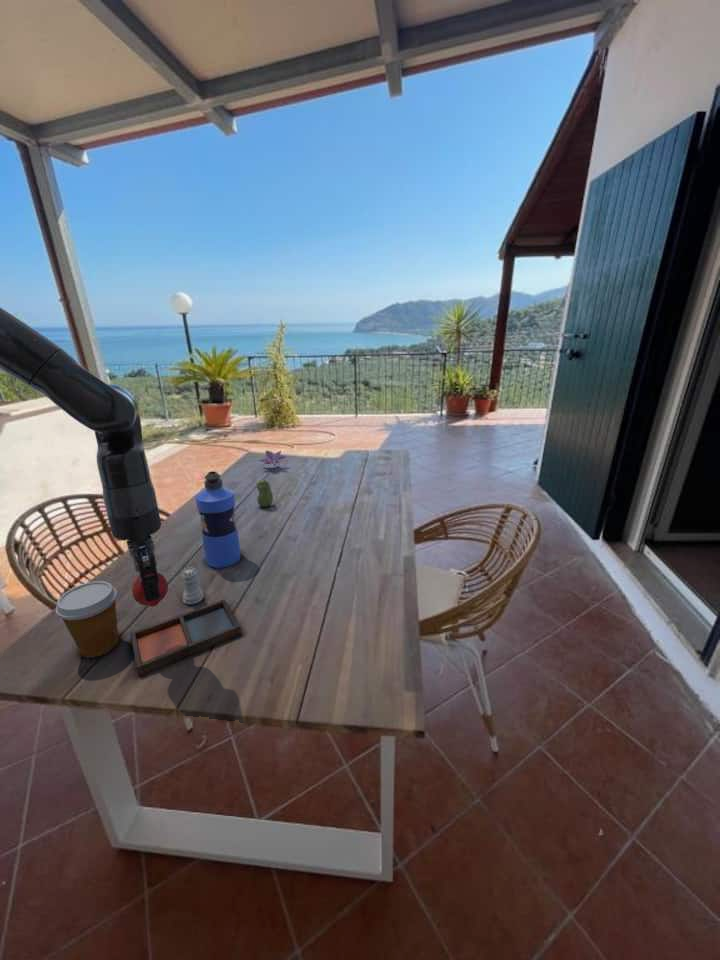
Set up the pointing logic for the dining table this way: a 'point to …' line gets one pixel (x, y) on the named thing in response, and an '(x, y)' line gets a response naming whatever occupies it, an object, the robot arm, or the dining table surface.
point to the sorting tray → (183, 636)
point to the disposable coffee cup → (90, 617)
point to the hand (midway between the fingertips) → (150, 589)
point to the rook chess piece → (191, 587)
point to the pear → (264, 493)
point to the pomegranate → (140, 595)
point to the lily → (272, 457)
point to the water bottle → (218, 523)
